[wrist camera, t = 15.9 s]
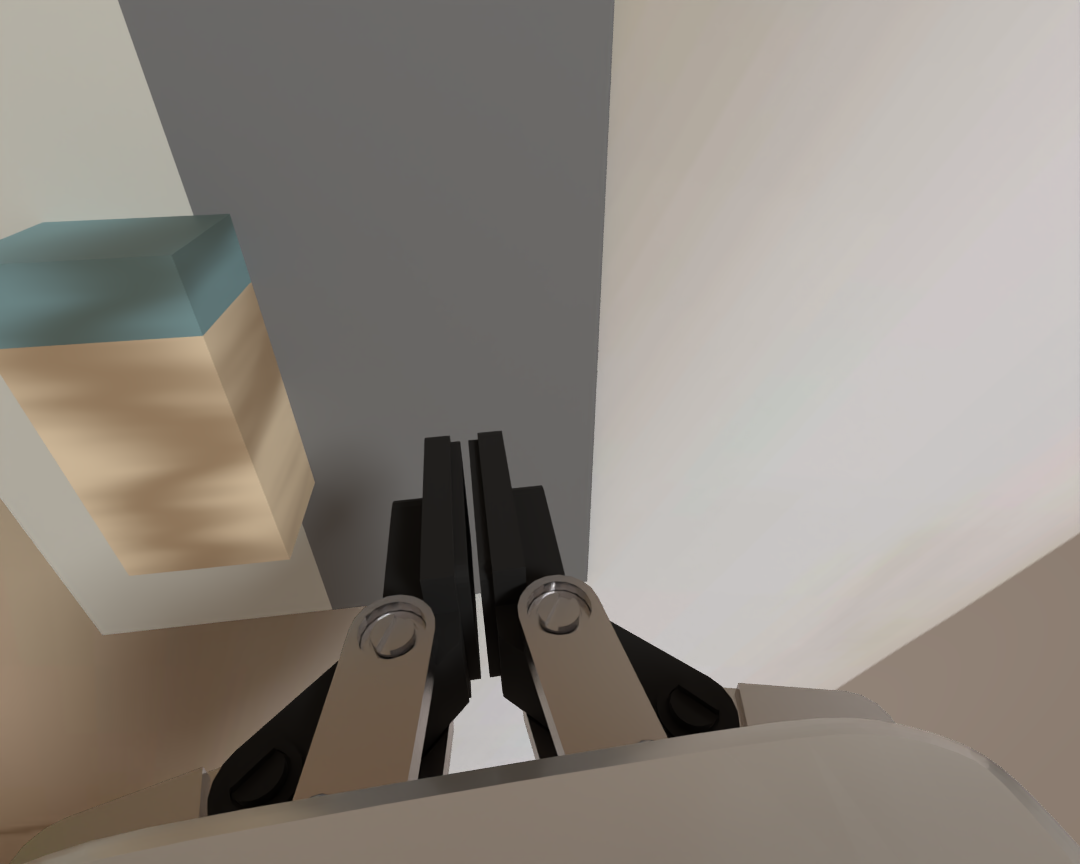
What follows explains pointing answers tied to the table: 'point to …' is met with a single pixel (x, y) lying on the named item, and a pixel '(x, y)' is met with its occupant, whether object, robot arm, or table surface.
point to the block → (155, 387)
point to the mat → (335, 249)
